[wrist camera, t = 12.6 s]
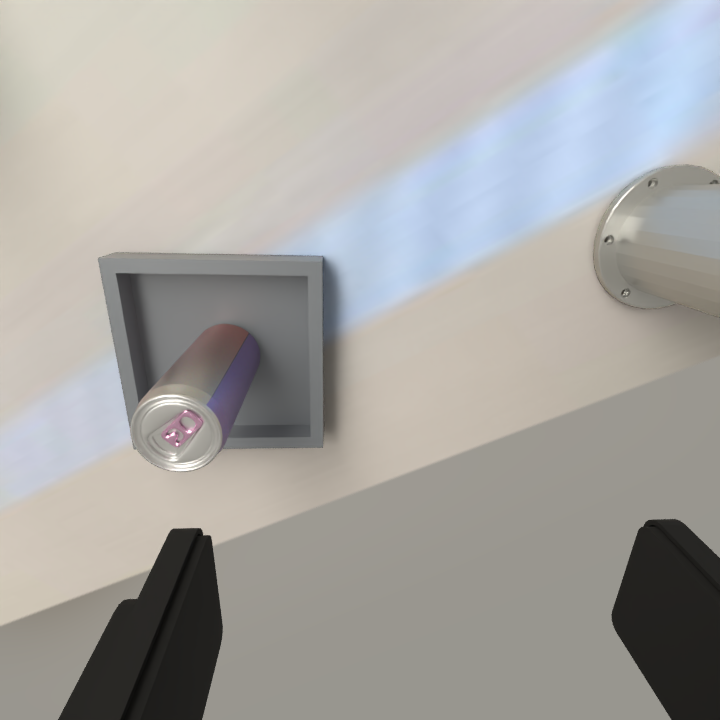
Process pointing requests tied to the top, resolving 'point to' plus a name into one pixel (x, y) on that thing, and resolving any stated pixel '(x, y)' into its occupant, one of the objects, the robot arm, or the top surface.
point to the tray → (225, 306)
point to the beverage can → (196, 400)
